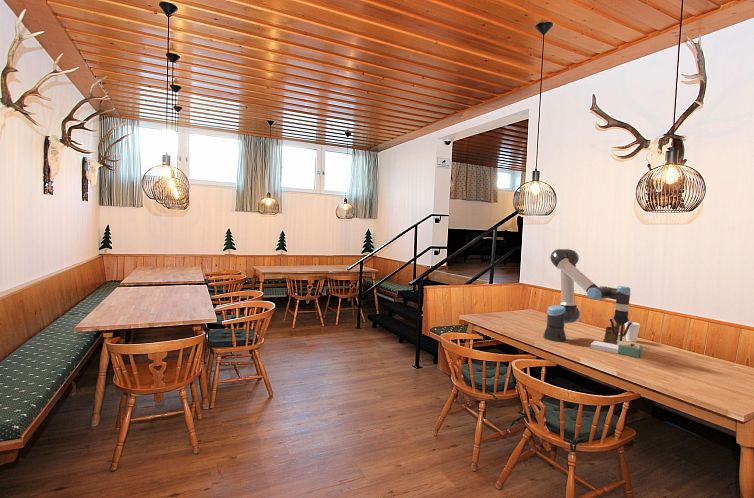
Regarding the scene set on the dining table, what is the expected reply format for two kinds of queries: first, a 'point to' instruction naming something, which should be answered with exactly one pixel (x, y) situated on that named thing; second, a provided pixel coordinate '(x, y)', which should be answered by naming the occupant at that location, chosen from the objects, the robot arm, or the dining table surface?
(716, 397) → the dining table surface
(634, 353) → the box
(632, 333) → the foam cup
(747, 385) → the dining table surface
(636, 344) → the tile
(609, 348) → the board
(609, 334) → the wooden mug
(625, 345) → the tile
